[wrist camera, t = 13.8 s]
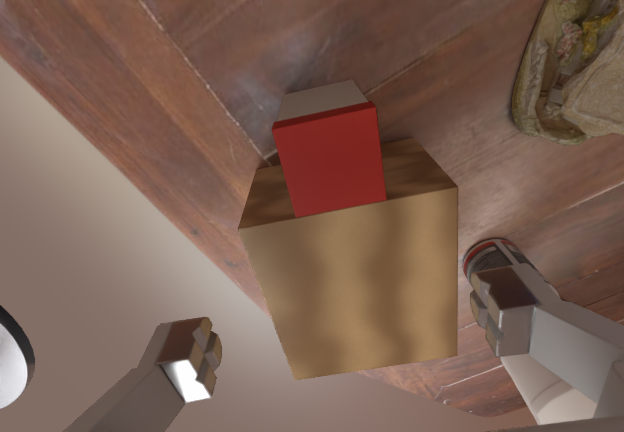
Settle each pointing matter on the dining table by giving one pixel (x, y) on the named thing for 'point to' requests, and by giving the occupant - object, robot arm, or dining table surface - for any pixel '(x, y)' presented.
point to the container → (329, 148)
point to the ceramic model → (573, 72)
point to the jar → (547, 392)
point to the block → (360, 269)
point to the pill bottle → (495, 258)
